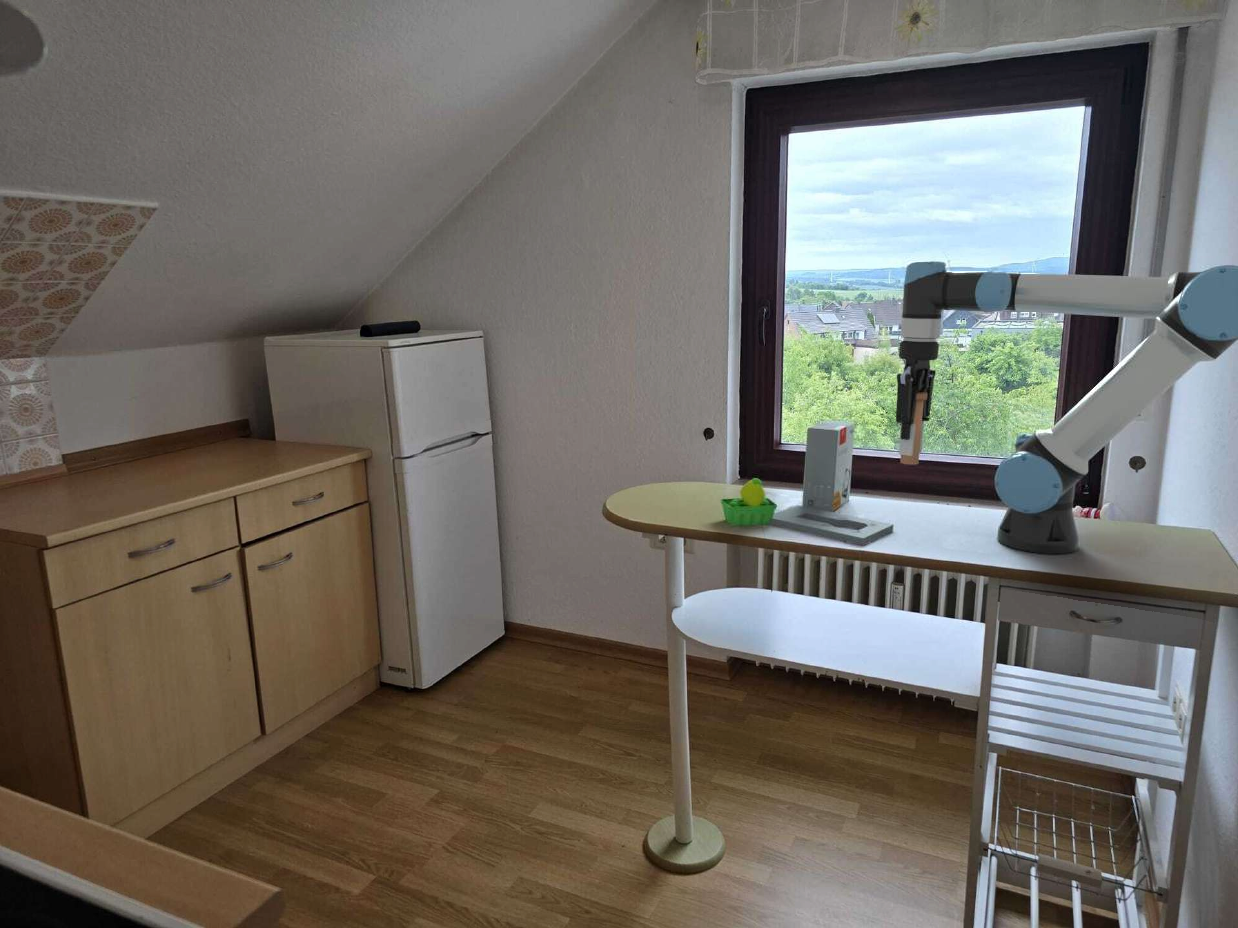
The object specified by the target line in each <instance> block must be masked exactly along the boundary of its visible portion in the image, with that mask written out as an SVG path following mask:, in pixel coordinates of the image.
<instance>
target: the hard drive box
mask: <svg viewBox="0 0 1238 928" xmlns="http://www.w3.org/2000/svg"><path fill="white" fill-rule="evenodd" d="M855 424H856V423H855V422H853V421H852V422H851V421H840V420H827V419H826V420H823V421H821V422H819V423H816V424H813V425H811V426H809V427H807V429H806V431H807V432H806V443H805V444H806V445H805V459H804V471H803V472H804V473H803V488H802V503H801V504H802V505H801V506H804V507H809V508H814V509H819V510H824V511H829V512H835V511H836V510H837V509H839V508H840V507H841V506H843V505H844V504H845V503H847V502H848V501H849V500H850V493H851V481H852V480H851V478H852V462H853V453H854V452H853V448H854V438H855V437H854V435H855V426H856V425H855Z"/></svg>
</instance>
